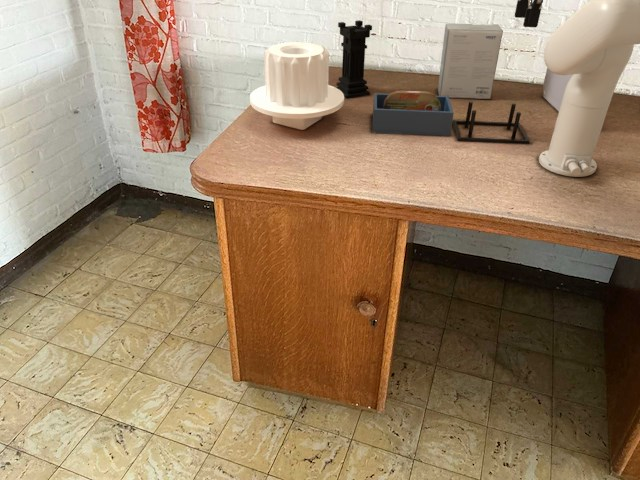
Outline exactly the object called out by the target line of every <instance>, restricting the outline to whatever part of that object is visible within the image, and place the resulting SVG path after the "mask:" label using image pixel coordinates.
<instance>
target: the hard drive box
mask: <svg viewBox="0 0 640 480" xmlns="http://www.w3.org/2000/svg"><path fill="white" fill-rule="evenodd" d="M503 33H504V30H503V29H502V28H501V26H500V25H499V24H498V23H496V24H495V23H445V25H444V33H443V40H442V41H443V43H442V50H441V58H440V59H441V60H440V67H439V76H438V82H437V83H438V84H437V92H438V96H449V99H450V98H451V99H455V98H456V99H477V100H481V99H482V100H491V98H492V93H493V87H494V81H495V78H496V72H497V66H498V65H497V64H498V61H499V56H500V49H501V45H502V38H503Z"/></svg>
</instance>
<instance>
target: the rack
mask: <svg viewBox="0 0 640 480" xmlns="http://www.w3.org/2000/svg"><path fill="white" fill-rule="evenodd" d="M473 104H474V102H473V101H469V102H468V105H467V109H466V111H467V112H466V117H465V120H459V119H458V120H456V119H453V121H452V126H453V129H454V133H455V137H456V139H457V142H474V143H475V142H477V143H478V142H479V143H500V144H501V143H502V144H521V145H522V144H523V145H529V144H530V139H529V137H528V135H527V133H526V132H525V130H524V128H523V126H522V125H521V122H520V120H521V115H522V112H520V111H517V112H516V115H515V111H516V110H515V109H516V107H517V103H511V105H510V111H509V114H508V115H509V117H508V120H507V122H505V121H504V122H503V121H479V120H476V115H477V110H475V109H474V110H472V109H473ZM514 116H515V119H514ZM513 120H514V122H513ZM458 125H464V128H465V129H468V133H467V136H462V135H461V133H460V129H459V126H458ZM474 126H491V127H493V126H494V127H506V130H507V131H511V129H512V132H511V137H510V138H494V137H472V136H473V132H474ZM512 127H513V128H512ZM517 132H519V134H520V136H521V138H522V139H518V138H517V139H516V137H517Z"/></svg>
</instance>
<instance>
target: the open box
mask: <svg viewBox="0 0 640 480" xmlns="http://www.w3.org/2000/svg"><path fill="white" fill-rule="evenodd" d="M389 94H390V93H379V92H378V93H376V92H374V93H373V104H372V124H371V125H372V126H371V127H372V128H371V129H372V130H371V133H373V134H377V133H378V134H397V135H417V136H418V135H419V136H445V137H450V136H451V133H452V126H453V123H452V122H453V120H454V110H453V106H452V103H451V100H450V98H449V96H439V95H436V97H437V98H438V99H439V101H440V104H441V111H423V110H398V109H383V105H384V101H385V99H386V97H387V96H388V95H389Z"/></svg>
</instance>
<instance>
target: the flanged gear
mask: <svg viewBox="0 0 640 480" xmlns="http://www.w3.org/2000/svg"><path fill="white" fill-rule="evenodd" d="M263 61H264V62H263V63H264V64H263V65H264V85H262V86H259V87H258V88H255V89H254V90H253V91H252V92H251V93H250V95H249V103H250V106H251V108H252V109H254V110H255V111H256V112H259V113H260V114H264V115H267V116H269V117H272V123H274V124H276V125H281V126H285V127H288V128H293V129H297V130H301V131H304V130H306V129H307V128H309V127H310V126H312V125H315V123H317V122H318V121H320V120H322V118H323V117H324V116H327V115H331V114H333V113H335V112H337V111H339V110H340V109H342V108H343V106H344V104H345V97H344V94H343V93H342V92H341V91H340V90H339V89H337V88H335V87H336V86H333V85H330V84H329V78H330V77H329V73H330V72H329V71H330V70H329V68H330V53H329V51H328V50H327V49H326V48H325V46H324V45H319V44H316V43H313V42H303V41H302V42H301V41H292V42H291V41H290V42H289V41H288V42H282V43H277V44H272V45H270V46H269V48H265V51H264V53H263Z"/></svg>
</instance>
